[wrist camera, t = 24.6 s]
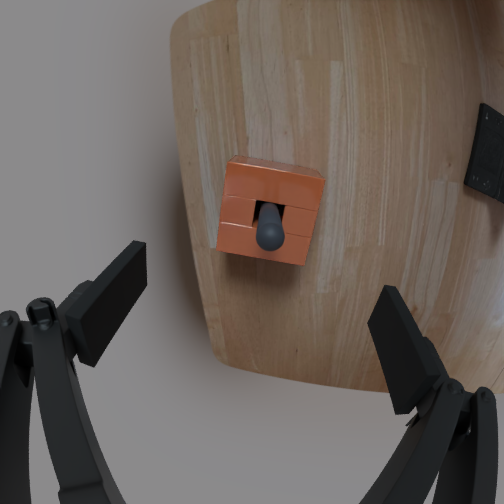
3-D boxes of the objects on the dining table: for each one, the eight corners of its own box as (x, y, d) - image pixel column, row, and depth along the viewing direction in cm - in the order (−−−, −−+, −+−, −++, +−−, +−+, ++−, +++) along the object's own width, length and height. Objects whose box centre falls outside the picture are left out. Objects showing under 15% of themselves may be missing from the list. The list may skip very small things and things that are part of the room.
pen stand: (235, 154, 29) (227, 161, 24) (317, 170, 29) (325, 179, 24) (224, 231, 32) (215, 250, 28) (300, 244, 32) (304, 266, 28)
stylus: (262, 195, 30) (258, 222, 15) (277, 198, 30) (288, 228, 15) (260, 210, 31) (252, 252, 16) (274, 213, 31) (282, 257, 16)
